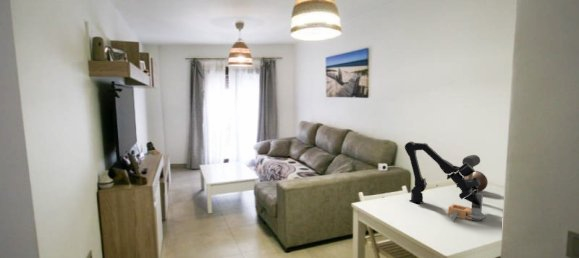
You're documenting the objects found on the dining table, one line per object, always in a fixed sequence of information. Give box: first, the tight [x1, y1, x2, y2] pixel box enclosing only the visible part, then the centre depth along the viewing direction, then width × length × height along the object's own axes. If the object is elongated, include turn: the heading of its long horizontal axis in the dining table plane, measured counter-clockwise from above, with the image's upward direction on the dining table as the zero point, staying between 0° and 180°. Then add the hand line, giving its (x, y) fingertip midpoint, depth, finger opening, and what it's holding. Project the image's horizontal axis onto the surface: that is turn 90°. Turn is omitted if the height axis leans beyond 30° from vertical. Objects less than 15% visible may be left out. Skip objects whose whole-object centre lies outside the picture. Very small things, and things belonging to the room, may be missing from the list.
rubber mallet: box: [462, 154, 481, 181], centre depth 200 cm, size 12×8×30 cm, turn 130°
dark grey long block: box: [471, 192, 484, 213], centre depth 178 cm, size 4×4×12 cm
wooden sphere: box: [463, 170, 489, 193], centre depth 219 cm, size 15×15×15 cm
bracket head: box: [447, 203, 486, 222], centre depth 171 cm, size 17×16×6 cm
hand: (479, 203), depth 177 cm, fingers open, 5 cm apart
